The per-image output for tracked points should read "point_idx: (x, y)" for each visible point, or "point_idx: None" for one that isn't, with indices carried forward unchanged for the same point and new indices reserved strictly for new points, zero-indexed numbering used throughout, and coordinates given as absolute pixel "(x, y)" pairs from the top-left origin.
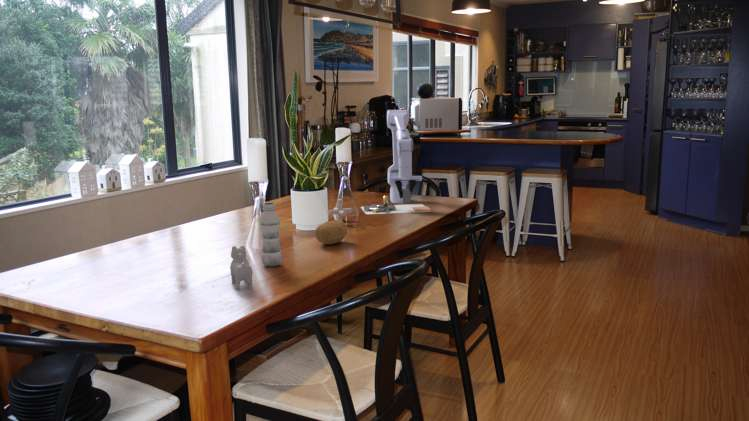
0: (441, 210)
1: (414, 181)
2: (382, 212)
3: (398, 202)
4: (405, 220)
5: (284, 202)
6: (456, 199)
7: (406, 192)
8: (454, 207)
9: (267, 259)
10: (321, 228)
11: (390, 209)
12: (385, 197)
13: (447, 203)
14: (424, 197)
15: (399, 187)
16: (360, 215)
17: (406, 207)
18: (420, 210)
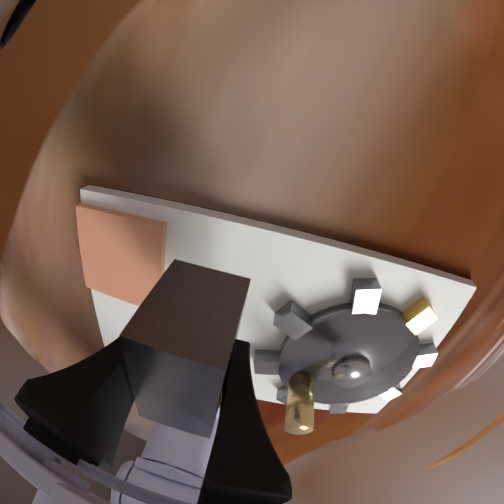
0: (46, 233)
1: (36, 423)
2: (386, 294)
3: None
4: (333, 46)
5: (440, 459)
6: (27, 344)
7: (180, 342)
8: (15, 259)
9: None
10: None
11: (317, 318)
12: (307, 418)
13: (38, 323)
14: None
15: (252, 438)
16: (466, 315)
17: None
18: (132, 217)
